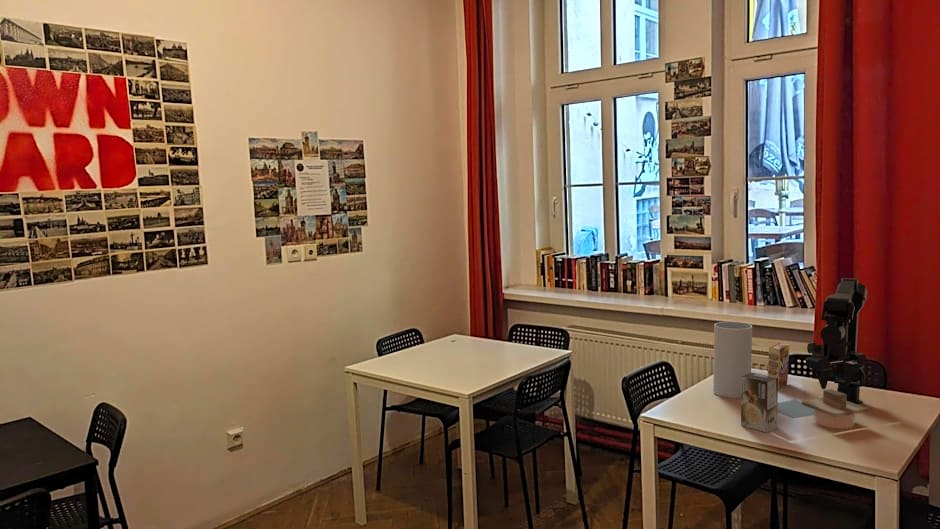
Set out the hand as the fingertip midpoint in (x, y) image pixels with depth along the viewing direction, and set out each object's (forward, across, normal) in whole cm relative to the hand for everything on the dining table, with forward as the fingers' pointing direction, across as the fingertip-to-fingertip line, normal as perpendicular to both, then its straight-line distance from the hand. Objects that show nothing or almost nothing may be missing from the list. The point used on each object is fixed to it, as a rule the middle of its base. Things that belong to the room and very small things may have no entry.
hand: (835, 387), depth 219 cm
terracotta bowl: (+12, 0, 0) cm, 12 cm away
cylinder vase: (+12, +9, -37) cm, 39 cm away
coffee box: (+12, +23, -7) cm, 27 cm away
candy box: (+12, -12, -38) cm, 41 cm away
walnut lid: (+7, 0, 0) cm, 7 cm away
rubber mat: (+12, +2, -15) cm, 19 cm away
